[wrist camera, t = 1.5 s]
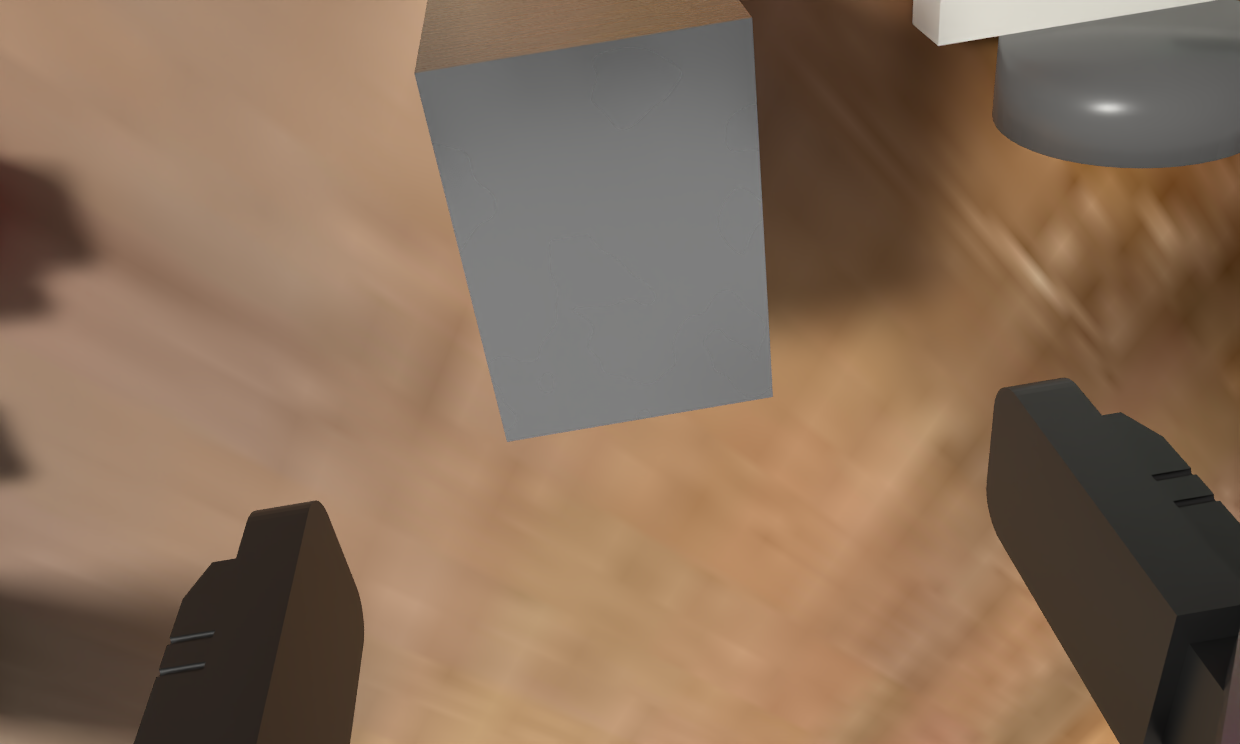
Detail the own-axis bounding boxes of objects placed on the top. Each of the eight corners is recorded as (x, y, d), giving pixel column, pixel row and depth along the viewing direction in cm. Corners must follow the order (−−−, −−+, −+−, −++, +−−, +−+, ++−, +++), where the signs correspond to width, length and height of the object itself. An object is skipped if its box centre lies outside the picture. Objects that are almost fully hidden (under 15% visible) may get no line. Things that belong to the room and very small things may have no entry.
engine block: (433, -29, 20) (414, 72, 15) (686, -70, 20) (751, 18, 15) (502, 281, 24) (507, 442, 19) (714, 246, 24) (772, 396, 19)
